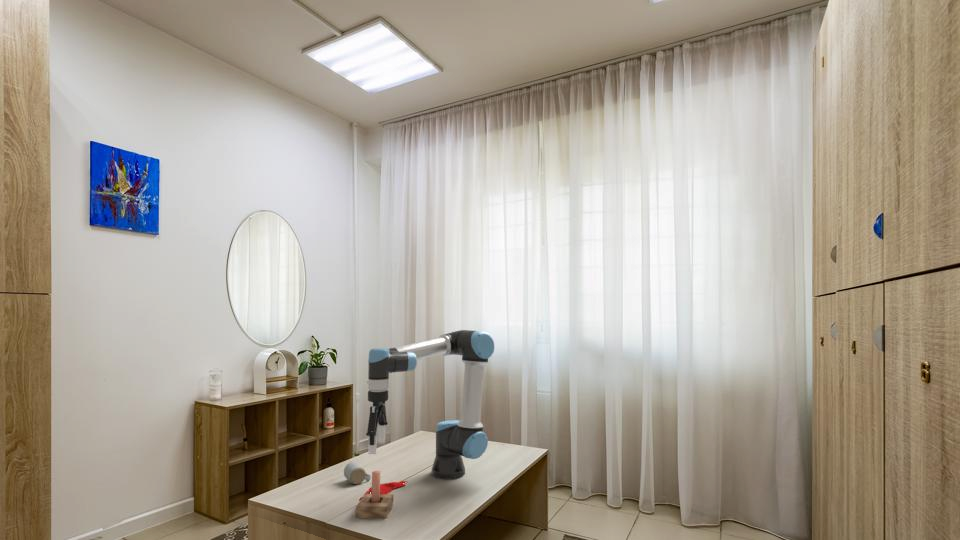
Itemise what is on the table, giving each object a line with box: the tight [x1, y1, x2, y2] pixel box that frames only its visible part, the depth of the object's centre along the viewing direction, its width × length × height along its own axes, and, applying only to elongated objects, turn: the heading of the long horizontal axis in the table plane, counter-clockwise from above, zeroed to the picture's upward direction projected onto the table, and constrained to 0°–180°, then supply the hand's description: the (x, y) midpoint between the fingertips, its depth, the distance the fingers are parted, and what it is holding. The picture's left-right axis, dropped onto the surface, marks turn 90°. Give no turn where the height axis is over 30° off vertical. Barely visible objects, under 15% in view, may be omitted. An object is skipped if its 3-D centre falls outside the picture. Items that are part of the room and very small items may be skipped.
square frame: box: [355, 493, 395, 519], centre depth 176 cm, size 11×11×4 cm
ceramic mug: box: [343, 460, 372, 485], centre depth 206 cm, size 11×8×8 cm
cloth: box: [358, 480, 408, 502], centre depth 196 cm, size 26×14×2 cm, turn 131°
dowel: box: [371, 470, 381, 503], centre depth 176 cm, size 3×3×14 cm
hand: (376, 448), depth 177 cm, fingers open, 13 cm apart
